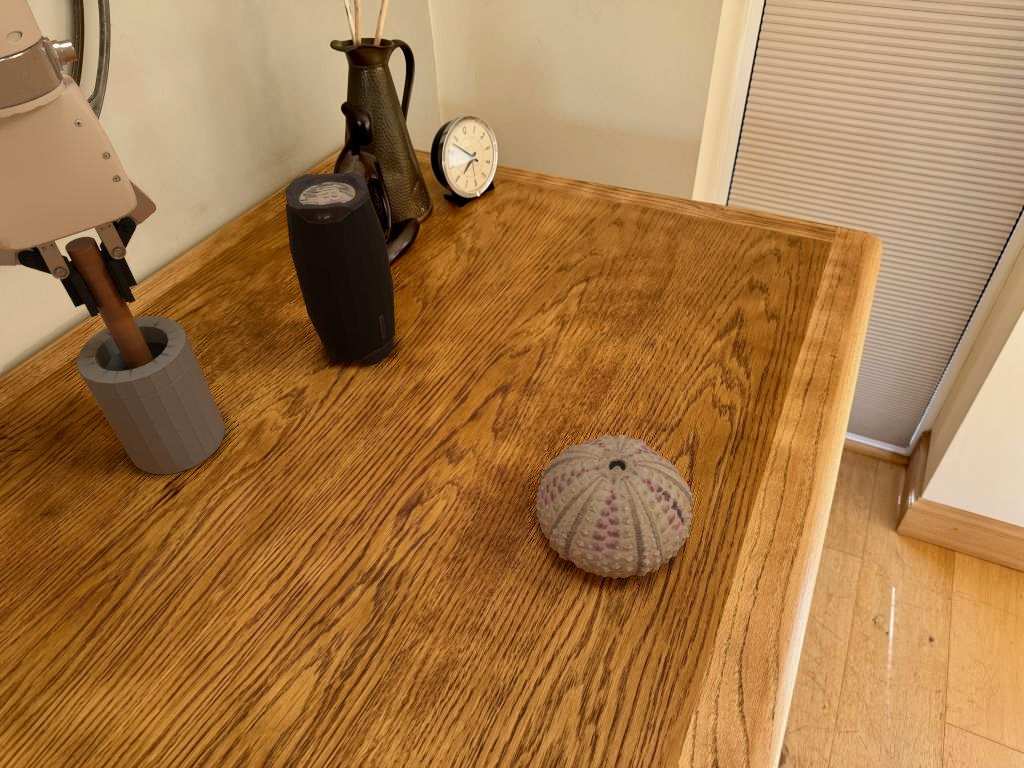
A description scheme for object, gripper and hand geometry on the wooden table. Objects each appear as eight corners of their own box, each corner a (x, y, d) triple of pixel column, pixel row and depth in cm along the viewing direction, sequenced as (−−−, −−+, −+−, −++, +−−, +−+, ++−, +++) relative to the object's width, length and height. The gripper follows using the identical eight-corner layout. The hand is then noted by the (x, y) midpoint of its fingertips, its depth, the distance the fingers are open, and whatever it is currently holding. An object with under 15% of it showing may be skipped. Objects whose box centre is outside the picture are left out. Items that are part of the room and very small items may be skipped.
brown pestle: (136, 419, 68) (45, 255, 55) (155, 392, 70) (72, 230, 58) (172, 422, 67) (88, 258, 55) (190, 395, 70) (113, 232, 57)
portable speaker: (308, 340, 83) (263, 182, 69) (382, 312, 86) (354, 157, 73) (336, 383, 77) (294, 221, 64) (415, 351, 81) (390, 191, 67)
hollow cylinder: (112, 470, 69) (54, 378, 61) (158, 404, 76) (111, 313, 67) (200, 478, 68) (154, 386, 60) (239, 411, 75) (202, 319, 66)
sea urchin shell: (643, 448, 70) (652, 388, 64) (719, 562, 60) (738, 503, 55) (513, 488, 66) (511, 428, 61) (573, 615, 57) (577, 557, 52)
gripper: (104, 34, 53) (189, 248, 66) (-154, 91, 46) (-5, 317, 59) (134, 61, 49) (219, 286, 61) (-147, 129, 42) (13, 365, 55)
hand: (108, 300), depth 60 cm, fingers closed on brown pestle, 2 cm apart
